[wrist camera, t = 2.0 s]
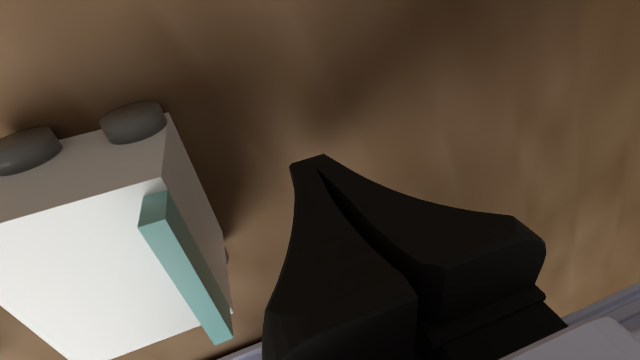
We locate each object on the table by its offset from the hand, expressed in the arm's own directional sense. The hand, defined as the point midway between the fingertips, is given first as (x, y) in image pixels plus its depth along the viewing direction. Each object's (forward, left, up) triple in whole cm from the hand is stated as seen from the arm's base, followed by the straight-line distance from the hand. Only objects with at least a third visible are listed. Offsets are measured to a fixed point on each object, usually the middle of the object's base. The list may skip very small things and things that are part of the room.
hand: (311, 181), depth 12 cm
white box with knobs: (0, +7, -3) cm, 7 cm away
